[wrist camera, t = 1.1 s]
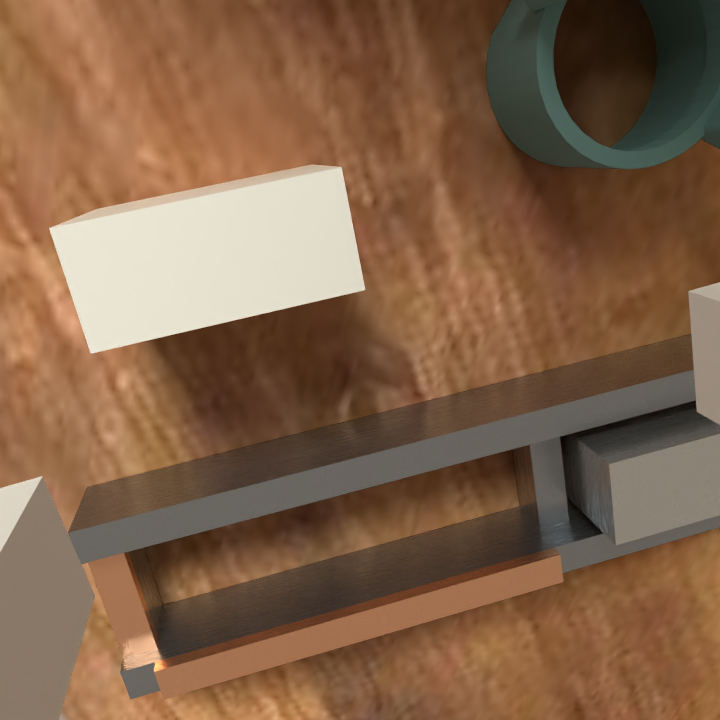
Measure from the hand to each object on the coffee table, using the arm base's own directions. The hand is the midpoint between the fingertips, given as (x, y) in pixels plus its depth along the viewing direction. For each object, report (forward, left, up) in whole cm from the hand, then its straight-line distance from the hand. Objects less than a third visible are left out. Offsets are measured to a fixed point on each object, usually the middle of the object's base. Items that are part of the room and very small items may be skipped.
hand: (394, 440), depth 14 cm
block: (-3, -3, -18) cm, 18 cm away
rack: (+11, +6, -18) cm, 22 cm away
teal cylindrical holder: (-7, +14, -18) cm, 24 cm away
